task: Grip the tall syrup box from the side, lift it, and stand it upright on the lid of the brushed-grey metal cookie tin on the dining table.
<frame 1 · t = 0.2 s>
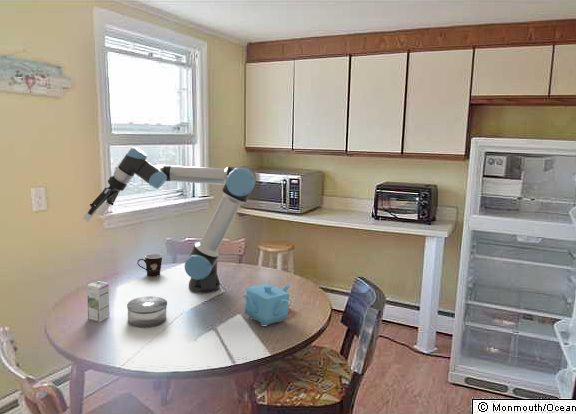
hand: (93, 217, 183), 35 cm above the table, tool tilted 35°, fingers open, 13 cm apart
coffee mug: (150, 274, 217), on the table
syrup box: (98, 318, 164), on the table
cookie tin: (147, 320, 165), on the table
teakettle: (267, 321, 171), on the table
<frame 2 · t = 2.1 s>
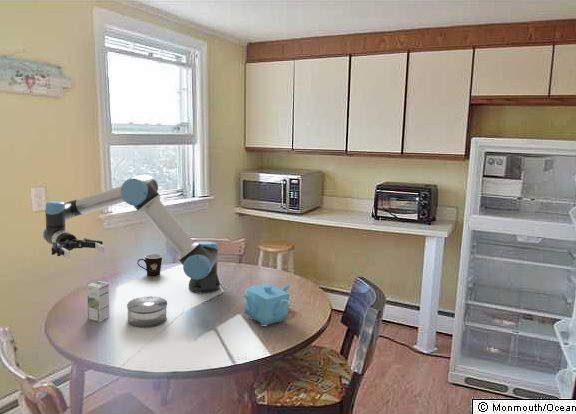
hand: (86, 252, 166), 25 cm above the table, tool horizontal, fingers open, 13 cm apart
nothing on the table moved.
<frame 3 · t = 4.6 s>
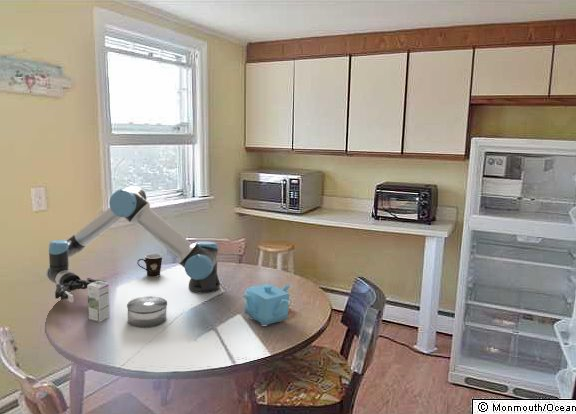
hand: (90, 295, 166), 8 cm above the table, tool horizontal, fingers open, 13 cm apart
nothing on the table moved.
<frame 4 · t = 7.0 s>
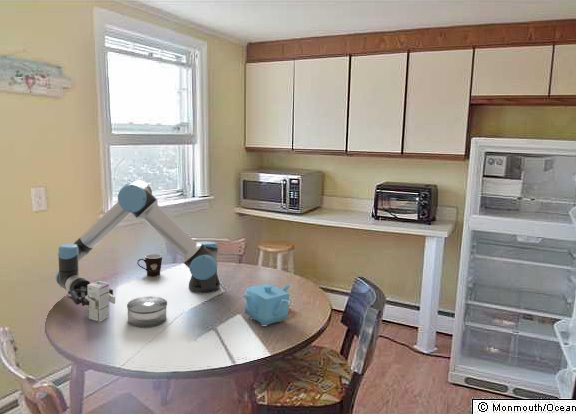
hand: (104, 302, 159), 8 cm above the table, tool horizontal, fingers closed on syrup box, 7 cm apart
syrup box: (98, 318, 164), on the table, touching gripper
everything else where it was.
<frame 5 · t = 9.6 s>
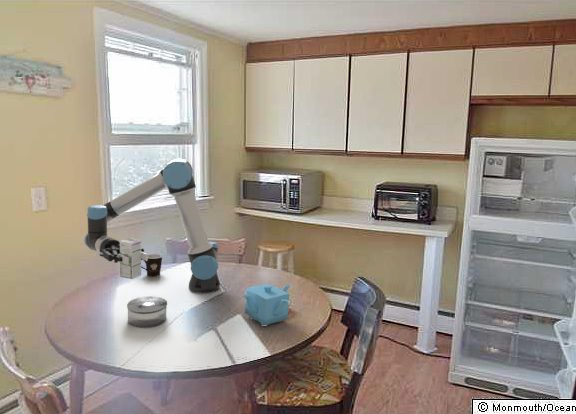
hand: (137, 259, 157), 26 cm above the table, tool horizontal, fingers closed on syrup box, 7 cm apart
syrup box: (130, 276, 162), point 18 cm above the table, touching gripper
everything else where it was.
when the fingers open (16 cm above the table, at t = 12.2 s): syrup box drops 2 cm, resting on cookie tin.
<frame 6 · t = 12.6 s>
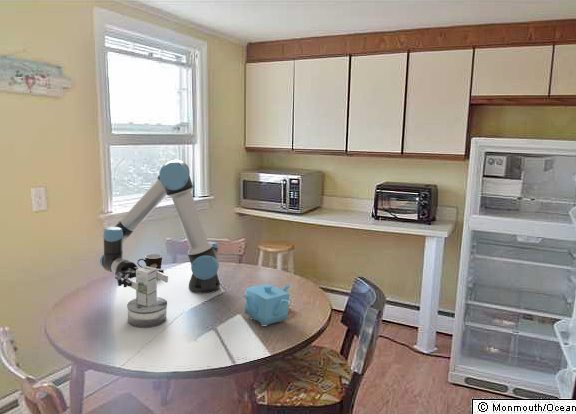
hand: (152, 282, 160), 16 cm above the table, tool horizontal, fingers open, 12 cm apart
syrup box: (146, 304, 164), point 7 cm above the table, touching cookie tin
cookie tin: (147, 320, 165), on the table, touching syrup box
everything else where it was.
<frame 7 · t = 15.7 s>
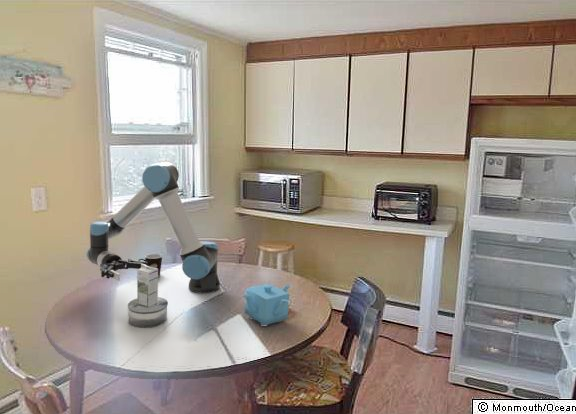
hand: (135, 273, 169), 17 cm above the table, tool horizontal, fingers open, 13 cm apart
nothing on the table moved.
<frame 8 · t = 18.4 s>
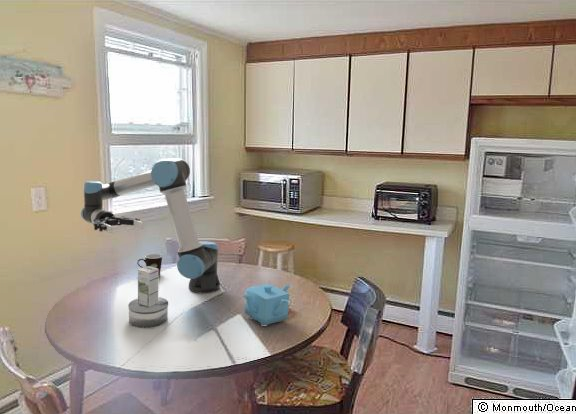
hand: (127, 227, 173), 34 cm above the table, tool horizontal, fingers open, 13 cm apart
nothing on the table moved.
at the end: syrup box inside the target area on the cookie tin (0.3 cm from its centre), point 6.8 cm above the cookie tin's base; syrup box tilted 0°; syrup box touching cookie tin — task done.
